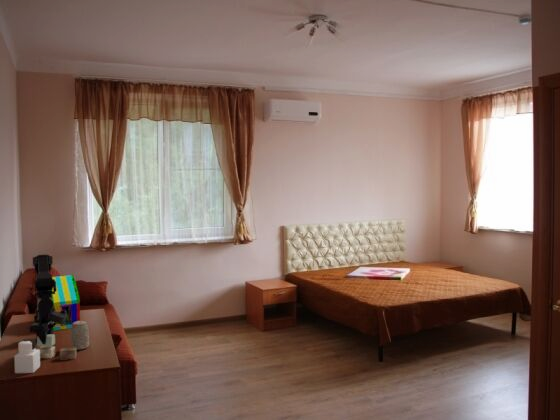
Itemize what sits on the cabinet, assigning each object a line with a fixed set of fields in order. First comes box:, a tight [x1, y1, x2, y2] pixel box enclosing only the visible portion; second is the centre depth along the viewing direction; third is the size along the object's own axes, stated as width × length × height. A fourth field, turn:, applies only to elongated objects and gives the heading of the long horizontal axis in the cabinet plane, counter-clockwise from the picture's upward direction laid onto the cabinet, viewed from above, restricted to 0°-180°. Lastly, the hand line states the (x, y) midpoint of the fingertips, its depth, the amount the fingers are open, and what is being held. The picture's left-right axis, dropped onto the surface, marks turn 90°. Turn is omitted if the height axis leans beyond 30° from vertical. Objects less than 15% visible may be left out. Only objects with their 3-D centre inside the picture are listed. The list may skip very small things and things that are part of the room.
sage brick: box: [36, 333, 56, 347], centre depth 214 cm, size 6×4×4 cm, turn 92°
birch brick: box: [36, 345, 56, 359], centre depth 214 cm, size 6×4×4 cm, turn 91°
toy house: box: [48, 274, 81, 332], centre depth 264 cm, size 24×14×25 cm, turn 34°
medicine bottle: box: [13, 338, 41, 374], centre depth 199 cm, size 7×7×12 cm
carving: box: [70, 320, 90, 351], centre depth 224 cm, size 6×8×12 cm
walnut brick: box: [59, 347, 78, 361], centre depth 213 cm, size 6×4×4 cm, turn 103°
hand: (46, 342), depth 214 cm, fingers closed on sage brick, 3 cm apart
